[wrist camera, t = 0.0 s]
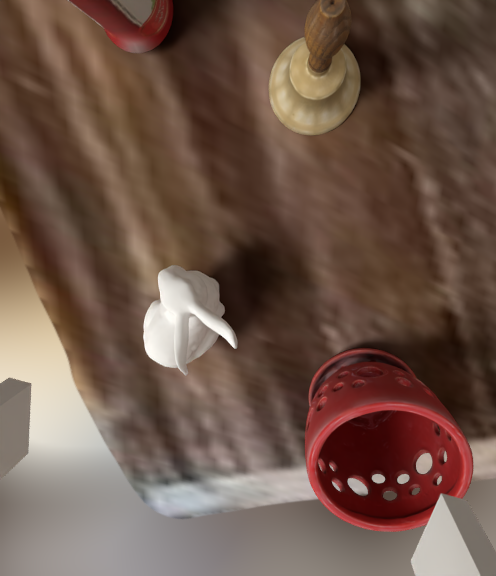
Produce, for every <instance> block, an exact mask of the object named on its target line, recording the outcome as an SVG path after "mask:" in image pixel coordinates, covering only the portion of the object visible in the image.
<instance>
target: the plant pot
mask: <svg viewBox="0 0 496 576" xmlns="http://www.w3.org/2000/svg"><path fill="white" fill-rule="evenodd" d="M309 405H310V408H309V412H308V416H307V422H306V431H305V457H306V467H307V473H308V478H309V481H310V484H311V486H312V488H313V490H314V492H315V494H316V495H317V497H318V498H319V500H320V501H321V502H322V503H323V505H324V506H325V507H326V508H327V509H328V510H330V511H331V512H332V513H333V514H335V515H336V516H337V517H339V518H340V519H342V520H344V521H346V522H348V523H350V524H353V525H356V526H358V527H361V528H365V529H370V530H376V531H393V532H394V531H403V530H409V529H413V528H417V527H421V526H424V525H427V524H428V521H429V519H430V517H431V515H432V512H433V510H434V508H435V506H436V503H437V501H438V499H439V497H440V495H441V493H442V494H446V495H449V496H453V497H457V498H461V499H462V498H463V497H464V495H465V494H466V492H467V490H468V488H469V485H470V483H471V479H472V474H473V457H472V451H471V448H470V445H469V443H468V441H467V439H466V437H465V435H464V434H463V432H462V430H461V429H460V427H459V425H458V424H457V422H456V421H455V419H454V418H453V417H452V415H451V414H450V413H449V411H448V410H447V409H446V408H445V406H444V405H443V404H442V403H441V402H440V400H439V399H438V398H437V396H436V395H435V394H434V393H433V392H432V391H431V390H430V389H429V388H428V387H427V386H426V385H425V384H424V383H422V382H421V381H420V380H419V379H417V378H416V376H415V374H414V373H413V371H412V370H411V369H410V367H409V366H408V365H407V364H406V363H405V362H403V361H402V360H401V359H399V358H398V357H396V356H394V355H392V354H390V353H388V352H385V351H382V350H378V349H371V348H356V349H351V350H347V351H344V352H342V353H339V354H337V355H335V356H334V357H332V358H330V359H329V360H328V361H326V362H325V363H324V364H323V365H322V366H321V367H320V368H319V369H318V371H317V372H316V374H315V375H314V377H313V379H312V382H311V384H310V389H309ZM438 426H439V428H440V433H439V430H438ZM445 451H446V453H447V461H446V462H444V452H445ZM424 453H430V455H431V457H432V461H433V463H432V467H431V469H430V470H429V471H428V472H427V473H426V474H419V473H418V472H417V470H416V462H417V459H418V458H419V457H420V456H421V455H422V454H424ZM318 463H319V464H318ZM329 464H330V465H331V466H332V467H333V469H334V471H333V470H332V469H331V468H330V466H329ZM319 465H320V467H321V469H322V471H321V469H320V467H319ZM374 474H381V475H383V476H384V477H385V481H384V483H379V484H378V483H375V482H373V480H372V476H373V475H374ZM401 474H408V475H409V477H410V479H409V481H408V482H406V483H404V484H399V483H398V482H397V478H398V477H399V476H400V475H401ZM439 476H442V481H441V483H440V484H439V485H437V479H438V478H439ZM348 478H355V479H357V480H359V481H361V482H362V483H363V484H364V485H365V486H366V487H367V489H368V495H366V496H360V495H358V494H356V493H355V492H354V491H353V490H352V489H351V488H350V487H349V485H348V482H347V481H348ZM332 481H333V482H335V483H336V484H337V485H338V487H339V488H340V491H341V492H340V491H338V490H337V489H336V488H335V487H334V486H333V484H332ZM415 488H420V491H419V493H418V494H416V495H412V491H413V489H415ZM386 491H393V492H395V493H397V497H396V499H394V500H392V501H388V500H386V499H384V498H383V494H384V492H386Z"/></svg>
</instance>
